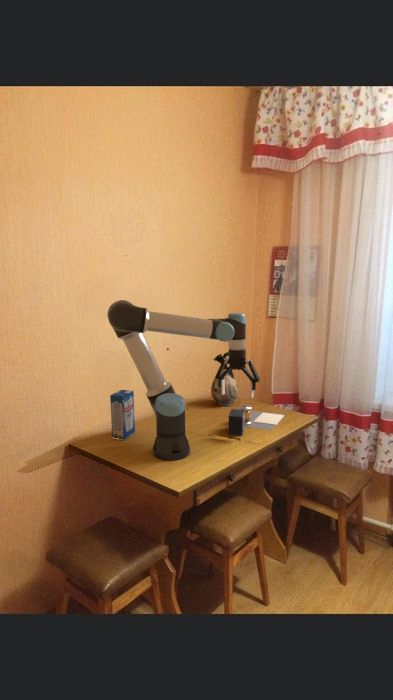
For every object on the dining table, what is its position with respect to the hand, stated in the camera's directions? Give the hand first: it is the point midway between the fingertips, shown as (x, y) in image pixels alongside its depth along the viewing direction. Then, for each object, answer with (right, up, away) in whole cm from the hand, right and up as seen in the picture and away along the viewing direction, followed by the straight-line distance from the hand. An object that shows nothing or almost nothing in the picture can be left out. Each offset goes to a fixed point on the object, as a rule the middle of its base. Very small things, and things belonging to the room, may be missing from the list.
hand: (237, 395), depth 191 cm
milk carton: (-51, -19, +3) cm, 54 cm away
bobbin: (+5, -14, +14) cm, 21 cm away
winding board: (+13, -15, +19) cm, 27 cm away
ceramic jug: (-2, -10, +50) cm, 51 cm away
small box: (0, -18, +3) cm, 18 cm away
